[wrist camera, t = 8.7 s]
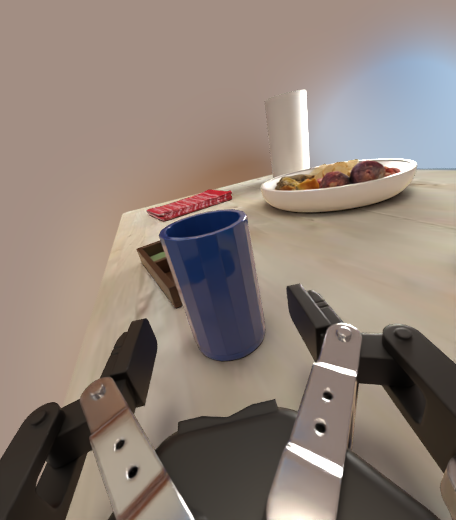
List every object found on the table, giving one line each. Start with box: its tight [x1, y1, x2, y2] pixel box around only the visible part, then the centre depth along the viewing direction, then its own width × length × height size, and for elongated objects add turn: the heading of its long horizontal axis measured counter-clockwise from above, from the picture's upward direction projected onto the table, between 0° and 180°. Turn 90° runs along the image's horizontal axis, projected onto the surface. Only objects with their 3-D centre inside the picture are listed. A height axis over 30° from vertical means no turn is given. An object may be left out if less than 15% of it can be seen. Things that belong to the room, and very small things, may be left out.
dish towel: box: [147, 190, 232, 221], centre depth 74 cm, size 17×24×3 cm
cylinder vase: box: [265, 90, 310, 178], centre depth 79 cm, size 12×12×25 cm
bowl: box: [261, 159, 417, 212], centre depth 52 cm, size 30×30×8 cm
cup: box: [159, 209, 265, 361], centre depth 18 cm, size 6×6×10 cm
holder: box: [137, 241, 183, 308], centre depth 34 cm, size 9×17×3 cm, turn 31°
